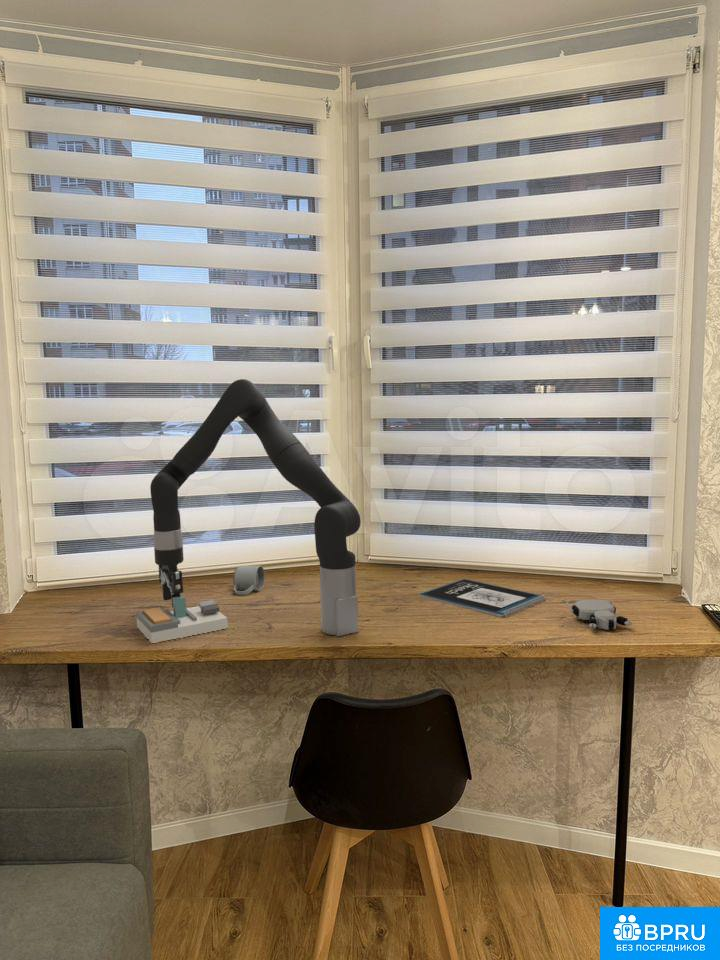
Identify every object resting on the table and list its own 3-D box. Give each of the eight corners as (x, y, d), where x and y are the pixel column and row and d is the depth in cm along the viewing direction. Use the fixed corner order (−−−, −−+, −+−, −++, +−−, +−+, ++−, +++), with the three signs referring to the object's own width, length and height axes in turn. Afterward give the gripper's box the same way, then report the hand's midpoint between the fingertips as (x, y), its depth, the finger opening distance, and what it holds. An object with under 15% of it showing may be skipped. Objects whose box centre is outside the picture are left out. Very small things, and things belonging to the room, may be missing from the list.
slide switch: (186, 615, 193) (185, 597, 193) (175, 617, 192) (174, 599, 191) (183, 613, 195) (182, 595, 194) (173, 615, 194) (172, 597, 193)
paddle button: (171, 626, 185) (170, 618, 185) (155, 629, 183) (154, 621, 183) (158, 614, 195) (158, 607, 194) (143, 617, 193) (143, 609, 192)
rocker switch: (219, 614, 195) (219, 607, 195) (204, 617, 193) (204, 610, 193) (212, 606, 199) (213, 599, 199) (198, 608, 197) (198, 602, 197)
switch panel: (227, 628, 192) (227, 612, 191) (151, 644, 182) (150, 626, 181) (209, 614, 204) (208, 598, 203) (137, 628, 194) (136, 611, 193)
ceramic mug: (241, 585, 232) (240, 561, 231) (266, 586, 230) (264, 562, 229) (228, 595, 222) (226, 571, 220) (253, 597, 220) (251, 572, 218)
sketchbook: (463, 582, 232) (464, 576, 232) (547, 602, 211) (547, 595, 211) (419, 597, 217) (419, 590, 217) (504, 620, 196) (504, 612, 196)
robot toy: (634, 635, 185) (607, 611, 199) (636, 618, 184) (608, 596, 198) (588, 638, 183) (564, 614, 198) (589, 621, 182) (565, 598, 197)
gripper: (190, 548, 193) (193, 607, 196) (174, 539, 205) (177, 594, 208) (162, 552, 190) (165, 613, 192) (147, 542, 202) (151, 599, 204)
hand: (171, 603), depth 200 cm, fingers open, 8 cm apart
